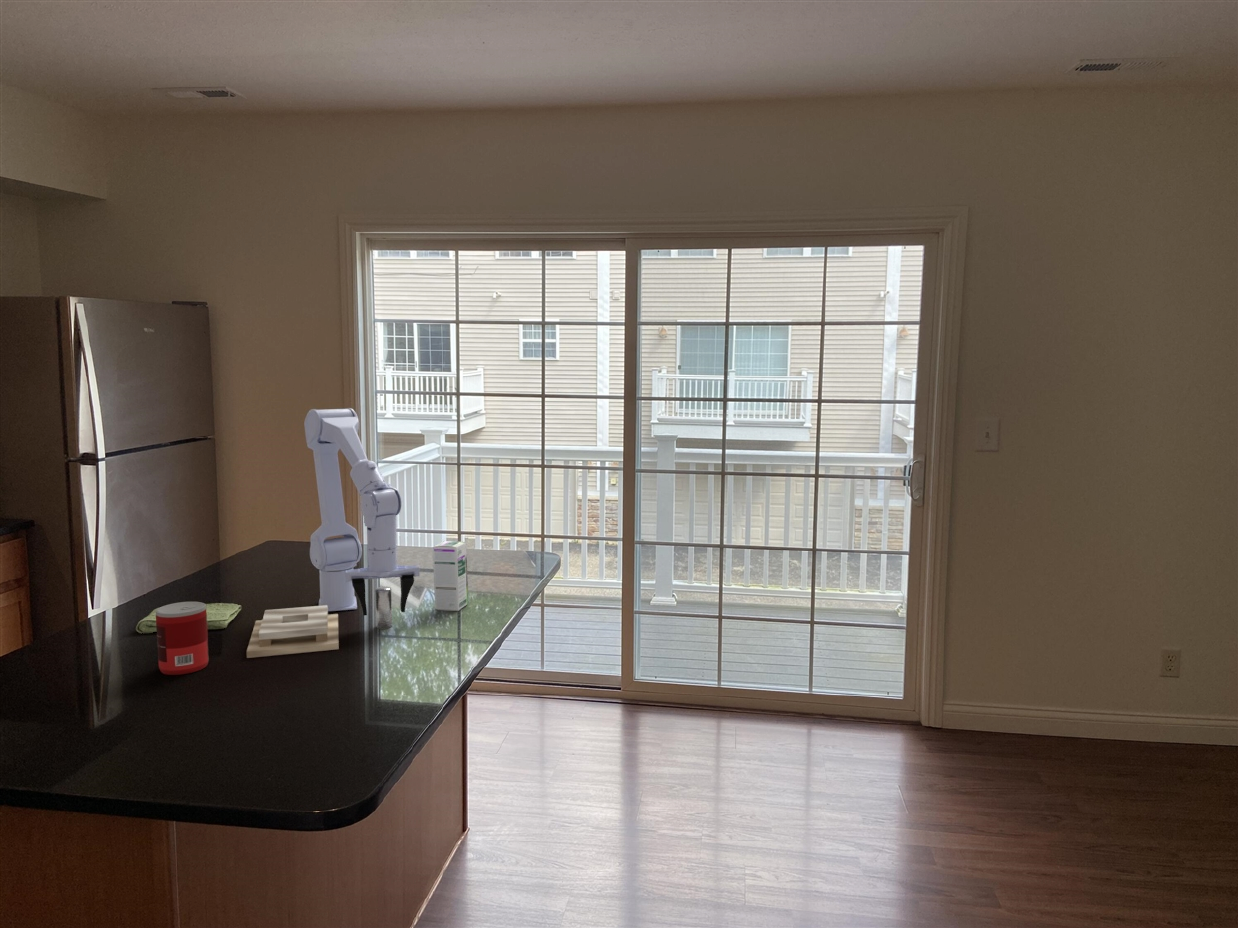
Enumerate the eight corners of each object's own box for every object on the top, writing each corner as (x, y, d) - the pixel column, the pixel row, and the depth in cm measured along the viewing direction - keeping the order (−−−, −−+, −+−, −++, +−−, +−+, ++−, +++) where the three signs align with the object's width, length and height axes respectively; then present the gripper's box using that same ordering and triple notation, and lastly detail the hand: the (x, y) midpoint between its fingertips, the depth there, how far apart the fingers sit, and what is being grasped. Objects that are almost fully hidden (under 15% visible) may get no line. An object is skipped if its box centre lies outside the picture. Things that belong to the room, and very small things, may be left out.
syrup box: (458, 611, 184) (457, 546, 183) (433, 609, 185) (432, 545, 184) (468, 604, 190) (467, 541, 188) (444, 602, 191) (442, 540, 189)
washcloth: (229, 631, 171) (228, 616, 171) (133, 637, 167) (132, 621, 167) (243, 613, 184) (242, 598, 183) (155, 618, 180) (154, 603, 180)
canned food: (218, 662, 152) (215, 603, 150) (182, 678, 144) (179, 615, 143) (185, 657, 154) (182, 599, 153) (148, 672, 147) (145, 611, 145)
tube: (375, 624, 174) (374, 587, 174) (391, 623, 175) (390, 585, 175) (376, 629, 171) (375, 591, 171) (392, 627, 172) (391, 589, 172)
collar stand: (256, 626, 173) (255, 608, 173) (338, 619, 178) (337, 601, 178) (246, 657, 154) (245, 637, 154) (338, 648, 159) (338, 629, 159)
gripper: (345, 554, 166) (347, 621, 167) (420, 549, 170) (421, 614, 172) (344, 546, 172) (346, 611, 174) (417, 542, 177) (418, 605, 178)
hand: (383, 612), depth 173 cm, fingers open, 7 cm apart
